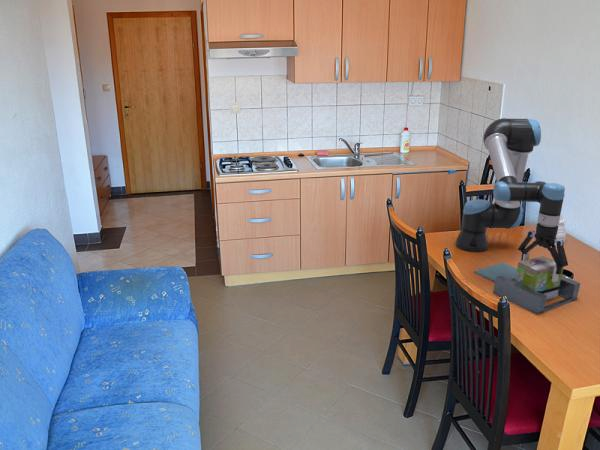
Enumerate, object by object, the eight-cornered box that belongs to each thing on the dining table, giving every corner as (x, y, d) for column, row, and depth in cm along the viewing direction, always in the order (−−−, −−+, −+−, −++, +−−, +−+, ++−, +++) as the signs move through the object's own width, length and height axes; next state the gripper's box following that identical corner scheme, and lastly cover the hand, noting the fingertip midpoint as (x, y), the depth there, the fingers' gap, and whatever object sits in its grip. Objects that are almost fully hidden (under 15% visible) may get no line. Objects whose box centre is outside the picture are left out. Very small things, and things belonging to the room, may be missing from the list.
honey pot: (535, 242, 272) (540, 208, 266) (539, 234, 282) (545, 202, 276) (562, 247, 265) (569, 213, 259) (565, 239, 276) (572, 206, 270)
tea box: (532, 305, 207) (538, 270, 202) (511, 294, 215) (517, 261, 211) (558, 297, 214) (564, 263, 209) (537, 287, 222) (543, 254, 217)
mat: (473, 272, 235) (474, 271, 235) (502, 263, 245) (502, 262, 244) (500, 284, 224) (500, 283, 224) (528, 275, 234) (529, 273, 233)
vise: (493, 293, 216) (495, 277, 214) (541, 276, 232) (544, 261, 230) (537, 314, 200) (541, 297, 198) (586, 295, 216) (590, 279, 214)
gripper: (513, 216, 212) (506, 265, 219) (572, 235, 192) (562, 288, 199) (525, 213, 216) (518, 262, 223) (584, 231, 196) (574, 284, 203)
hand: (538, 274), depth 211 cm, fingers open, 13 cm apart
